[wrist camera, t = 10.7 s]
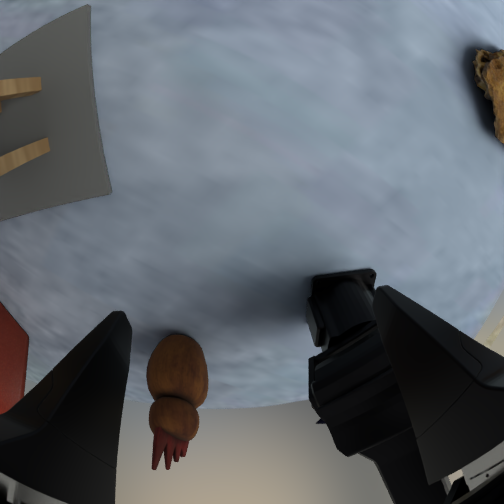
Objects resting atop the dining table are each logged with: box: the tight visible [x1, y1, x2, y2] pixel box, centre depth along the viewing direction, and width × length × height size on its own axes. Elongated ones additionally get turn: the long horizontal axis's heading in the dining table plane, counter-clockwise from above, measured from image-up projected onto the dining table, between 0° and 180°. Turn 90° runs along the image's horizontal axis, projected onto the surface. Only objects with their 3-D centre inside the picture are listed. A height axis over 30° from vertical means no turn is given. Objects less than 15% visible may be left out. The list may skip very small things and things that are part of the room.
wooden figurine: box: [146, 335, 208, 470], centre depth 23 cm, size 7×6×15 cm
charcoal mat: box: [0, 4, 112, 221], centre depth 15 cm, size 16×16×1 cm
